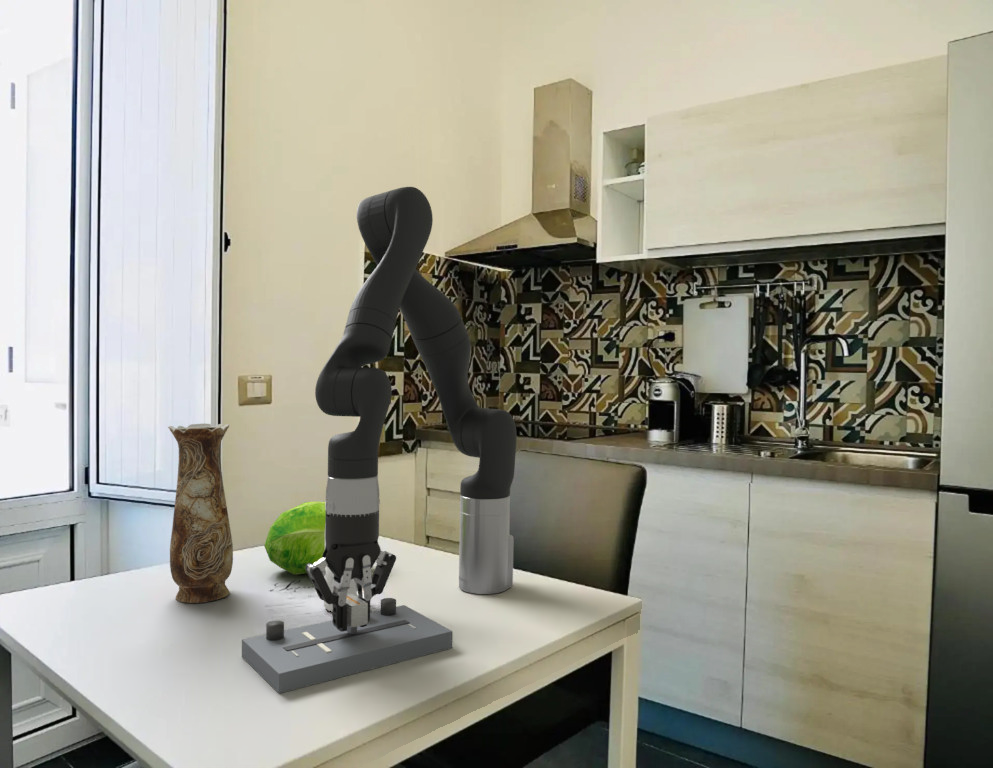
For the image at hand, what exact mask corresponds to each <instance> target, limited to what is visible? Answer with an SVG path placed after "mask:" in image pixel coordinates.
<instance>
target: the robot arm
mask: <svg viewBox="0 0 993 768" xmlns="http://www.w3.org/2000/svg"><path fill="white" fill-rule="evenodd" d="M433 219H434V218H433V212H432V207H431V204H430V202H429V199H428V198H427V196H426V194H425V193H423V191H421V190H420V189H419V188H417V187H414V186H403V187H399V188H395V189H392V190H388V191H385V192H380V193H378V194H374V195H371V196H369V197H366V198H363V199H362V200H361V201H359V204H358V205H357V209H356V221H357V222H356V223H357V225H358V231H359V232H360V235H361V237H362V241H363V243H364V244H365V246H366V248H367V250H368V252H369V253H370V256H371V257H372V259H373V261H374V262H375V264H376V267H375V268H374V269H373V271H372V273H370V275H369V276H368V277H367V279H366V280H365V282H364V283H363V284H362V285H361V287H360V288H359V290H358V292H357V293H356V295H355V297H354V299H353V301H352V303H351V305H350V309H349V312H348V315H347V319H346V323H345V326H344V330H343V334H342V337H341V338H340V340H339V342H338V344H337V345H336V347H335V348H334V350H333V352H332V353H331V354H330V356H329V358H328V360H327V361H326V363H325V364H324V365H323V368H322V369H321V371H320V373H319V374H318V378H317V380H316V383H315V384H316V385H315V390H314V391H315V392H314V393H315V394H314V395H315V400H316V403H317V406H318V408H319V409H320V410H321V412H322V413H324V414H326V415H328V416H333V417H359V422H358V424H357V427H356V428H355V429H354V430H353V431H348V432H343V433H338V434H335V435H333V436H331V438H329V441H328V445H327V446H328V447H327V481H326V488H325V502H326V513H325V541H326V547H325V550H324V552H323V555H322V558H321V559H320V560H318V561H317V562H315V563H314V564H311V563H309V564H307V565H306V567H305V570H306V572H307V573H306V574H307V575H308V578H309V580H310V582H311V584H312V585H313V587H314V590H315V592H316V594H317V596H318V598H319V599H320V600H321V601H323V602H324V601H325V602H326V603H328V604H333V612H332V620H333V625H334V626H335V627H336V628H337V629H338V630H339V631H341V632H343V631H346V630H347V605H345V604H346V599H347V591H348V589H349V588H350V581H351V579H354V581H355V583H356V591H357V596H358V598H360V599H362V600H363V601H365V602H367V603H368V622H369V619H370V612H371V600H372V598H373V597H375V596H376V595H381V594H382V593H383V592H384V589H385V587H386V584H387V582H388V581H389V577H390V575H391V572H392V570H393V567H394V566H395V563H396V561H397V556H396V555H395V554H393V553H391V552H389V551H387V550H384V551H383V550H382V549H381V546H380V545H379V541H378V540H379V537H380V504H381V500H380V485H379V476H378V475H379V448H380V441H381V437H382V433H383V432H382V431H383V427H384V424H385V421H386V417H387V414H388V411H389V408H390V404H391V402H392V393H393V389H392V384H391V381H390V377H389V376H388V375H387V373H386V372H385V371H384V370H382V369H380V368H379V367H365V366H367V365H370V364H375V363H379V362H381V361H383V360H384V359H385V358H386V357H387V356H388V354H389V353H390V348H391V344H392V340H393V337H394V333H395V328H396V323H397V320H398V316H399V311H400V312H401V314H402V316H403V319H404V321H405V323H406V325H407V328H408V331H409V333H410V336H411V338H412V340H413V343H414V346H415V348H416V350H417V351H418V354H419V356H420V358H421V360H422V362H423V364H424V365H425V369H426V372H427V373H428V375H429V378H430V381H431V383H432V386H433V388H434V390H435V392H436V395H437V397H438V400H439V403H440V406H441V408H442V412H443V415H444V419H445V420H446V421H445V422H446V425H447V427H448V431H449V433H450V436H451V439H452V442H453V443H454V446H455V447H456V449H457V450H458V451H459V452H460V453H461V454H463V455H465V456H466V457H467V456H468V457H472V458H477V459H479V463H478V468H477V471H476V472H475V473H474V474H472V475H469V476H466V477H463V479H461V482H460V492H459V494H460V495H459V496H460V497H459V499H460V500H459V501H460V502H459V547H458V548H459V553H458V557H459V559H458V561H459V563H458V565H459V566H458V588H459V589H460V590H461V591H464V592H466V593H470V594H477V595H491V594H498V593H503V592H505V591H506V590H508V589H509V588H512V587H513V586H514V585H513V584H514V583H513V582H514V543H515V541H514V536H513V535H512V534H510V514H511V513H510V512H511V511H510V510H511V507H510V505H511V487H512V485H513V481H514V477H515V465H516V452H517V440H518V439H517V426H516V422H515V420H514V417H513V416H512V415H511V413H509V411H506V410H504V409H497V408H487V407H486V408H484V407H480V406H479V405H478V404H477V402H476V399H475V397H474V395H473V393H472V391H471V389H470V385H469V381H468V380H469V379H468V377H469V376H468V372H469V368H470V367H469V365H470V363H471V362H470V360H471V352H472V345H471V343H472V342H471V339H470V335H469V333H468V331H467V330H468V329H467V328H466V326H465V323H464V321H463V318H462V315H461V314H460V311H459V309H458V308H457V306H456V305H455V303H453V301H451V299H450V298H448V296H446V294H445V293H443V292H442V291H441V290H439V288H437V287H436V286H435V285H433V284H432V283H431V282H430V281H429V280H427V278H425V277H424V276H423V275H422V274H421V273H420V272H419V270H417V269H416V268H417V267H418V264H419V262H420V260H421V257H422V255H423V253H424V250H425V249H426V248H425V247H426V245H427V244H428V241H429V239H430V236H431V232H432V229H433V222H434V221H433ZM375 563H376V566H375V567H374V565H375ZM326 566H328V568H329V569H330V570H331V571H332V573H333V574H332V581H331V583H332V592H331V590H330V588H329V586H328V584H327V582H326V580H325V578H324V576H325V575H326V570H325V568H326ZM373 567H374V570H373V574H372V568H373ZM365 626H367V624H366V625H361V626H360V627H365Z"/></svg>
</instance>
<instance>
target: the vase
mask: <svg viewBox="0 0 993 768" xmlns="http://www.w3.org/2000/svg"><path fill="white" fill-rule="evenodd" d="M229 427H230V424H224V425H223V424H222V423H219V424H216V425H212V424H211V423H193V424H189V425H188V426H187V427H186V426H183V425H177V427H174V426H170V425H169V426H167V428H168V429H169V432H170V433H171V434H172V436H173V437H174V439H175V440H176V442H177V446H178V464H177V465H178V470H177V480H176V481H177V482H176V492H175V501H174V511H173V517H172V527H171V535H170V544H169V568H170V574H171V578H172V580H173V582H174V583H175V584H176V585H177V586H178V592H177V593H176V595H175V600H176V601H178V602H180V603H186V604H196V603H197V604H200V603H209V602H213V601H216V600H220V599H223V598H225V597H227V596H229V595H230V590H229V588H228V587H227V585H226V581H228V579H229V577H230V576H231V573H232V570H233V564H234V550H233V549H234V546H233V545H234V544H233V536H232V530H231V527H230V519H229V514H228V512H229V511H228V506H227V500H226V495H225V487H224V481H223V474H222V473H223V472H222V464H221V463H222V462H221V453H220V452H221V451H220V450H221V448H220V447H221V443H222V440H223V438H224V437H225V435H226V433H227V431H228V429H229Z"/></svg>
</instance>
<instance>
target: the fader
mask: <svg viewBox="0 0 993 768" xmlns="http://www.w3.org/2000/svg"><path fill="white" fill-rule="evenodd" d="M345 605H347V630H346V631H347V632H348V633H350V634H354V633H357V626H361V625H366V624H368V603H367V602H365V601H363V600H362V599H360V598H358V597H356V596H355V595H353V594H349V595H347V599H346V604H345Z"/></svg>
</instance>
